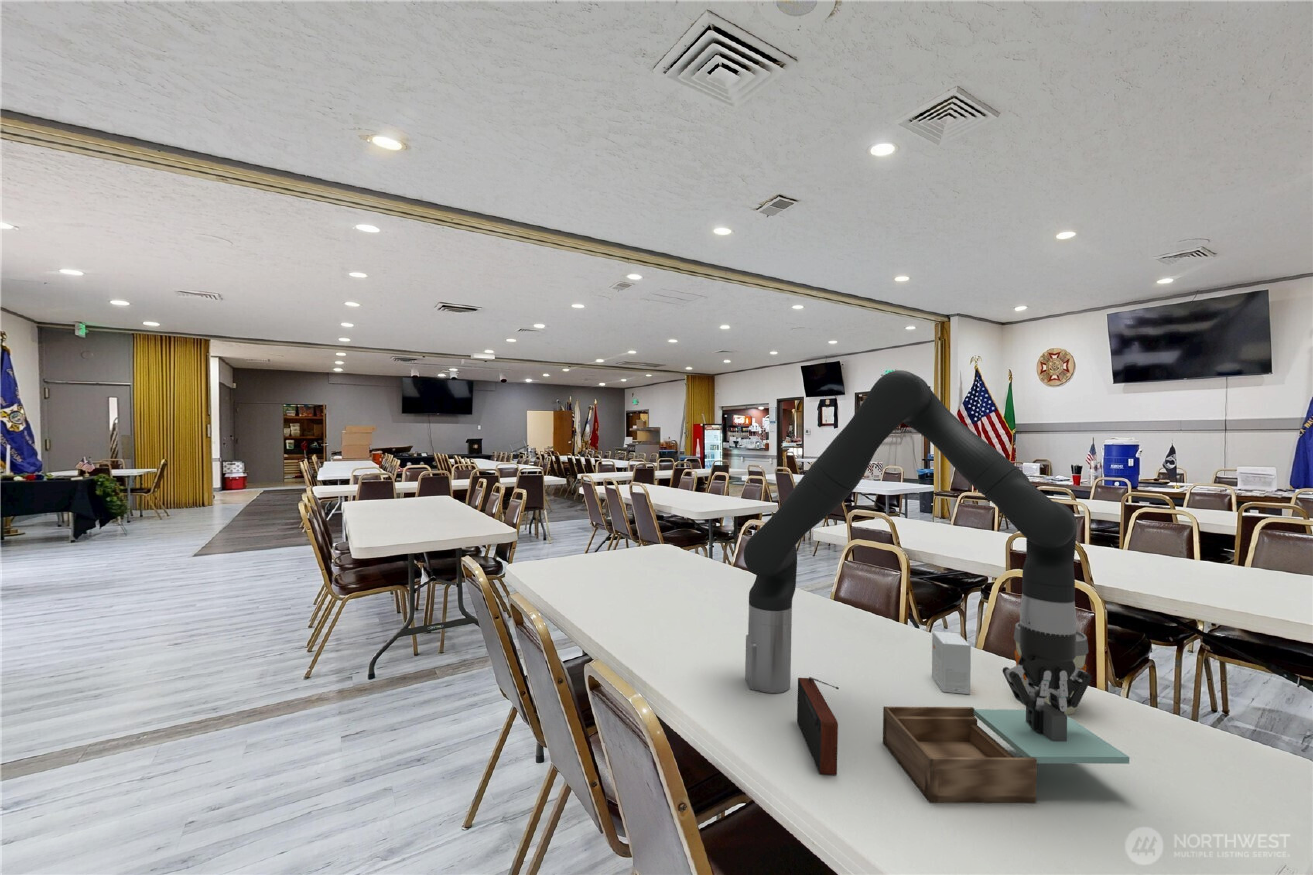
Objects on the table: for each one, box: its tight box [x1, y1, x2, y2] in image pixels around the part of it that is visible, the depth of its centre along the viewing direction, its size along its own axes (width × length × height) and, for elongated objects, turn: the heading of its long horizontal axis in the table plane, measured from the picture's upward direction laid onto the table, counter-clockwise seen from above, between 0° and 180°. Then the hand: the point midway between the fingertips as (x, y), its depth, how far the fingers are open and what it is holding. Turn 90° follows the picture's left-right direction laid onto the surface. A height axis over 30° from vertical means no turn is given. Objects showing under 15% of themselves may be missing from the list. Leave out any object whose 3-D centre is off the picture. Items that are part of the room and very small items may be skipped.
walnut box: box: [882, 706, 1038, 804], centre depth 90 cm, size 16×16×6 cm
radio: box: [796, 676, 839, 776], centre depth 95 cm, size 19×3×15 cm, turn 178°
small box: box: [931, 630, 972, 695], centre depth 122 cm, size 8×6×10 cm
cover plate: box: [974, 701, 1130, 765], centre depth 90 cm, size 15×14×5 cm
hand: (1045, 730), depth 90 cm, fingers closed on cover plate, 2 cm apart
